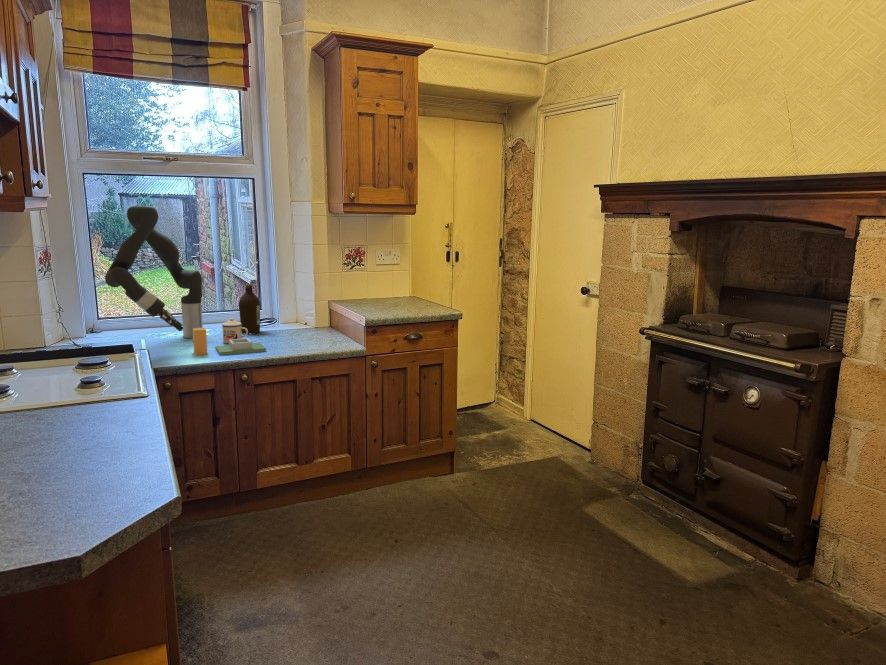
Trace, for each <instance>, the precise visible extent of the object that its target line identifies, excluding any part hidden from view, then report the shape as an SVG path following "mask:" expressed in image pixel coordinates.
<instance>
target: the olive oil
mask: <svg viewBox="0 0 886 665" xmlns="http://www.w3.org/2000/svg"><path fill="white" fill-rule="evenodd" d="M238 310H239V320H240V323H241V324H242V325H241V327H245V328H246V329H247V330H248V333H256V334H258V333H257V332H259V333H260V332H261V301H260V299H259V297H258V296H257V295H256V294H255V293H254V292H253V285H252V284H245V292H244V293H243V294H242V296H241V297H240V298H239V300H238ZM241 330H242V334H243V333H246V330H245V329H241Z"/></svg>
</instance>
